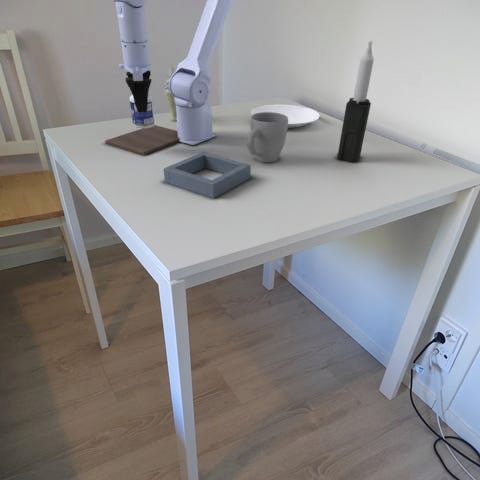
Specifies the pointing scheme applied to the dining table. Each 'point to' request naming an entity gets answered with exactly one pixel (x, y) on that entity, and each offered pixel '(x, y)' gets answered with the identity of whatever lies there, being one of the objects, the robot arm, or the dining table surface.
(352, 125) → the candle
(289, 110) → the plate
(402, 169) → the dining table surface
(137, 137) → the board
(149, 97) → the pill bottle
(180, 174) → the square frame
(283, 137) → the mug
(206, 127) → the robot arm
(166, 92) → the ice cream cone
